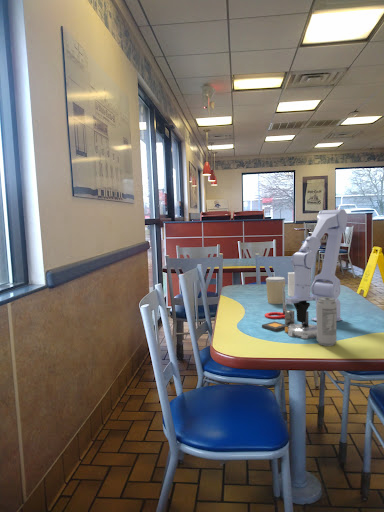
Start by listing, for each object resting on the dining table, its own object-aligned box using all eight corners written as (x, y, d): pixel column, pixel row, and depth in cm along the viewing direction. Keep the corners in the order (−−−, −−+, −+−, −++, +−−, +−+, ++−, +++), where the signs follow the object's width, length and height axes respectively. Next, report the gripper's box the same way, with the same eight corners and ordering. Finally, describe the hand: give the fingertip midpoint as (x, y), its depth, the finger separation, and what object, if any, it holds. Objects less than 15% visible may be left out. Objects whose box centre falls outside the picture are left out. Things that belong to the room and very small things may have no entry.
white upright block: (304, 293, 199) (304, 271, 198) (307, 297, 190) (307, 274, 189) (287, 293, 200) (287, 271, 199) (289, 297, 191) (289, 274, 190)
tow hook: (264, 320, 152) (287, 319, 150) (262, 289, 151) (285, 288, 149) (265, 314, 161) (287, 314, 159) (263, 285, 160) (285, 284, 157)
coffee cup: (284, 300, 185) (283, 276, 184) (287, 304, 176) (286, 279, 175) (265, 300, 186) (264, 276, 185) (267, 304, 177) (266, 279, 176)
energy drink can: (331, 340, 124) (331, 296, 122) (339, 346, 118) (339, 300, 116) (314, 340, 124) (313, 296, 122) (320, 347, 118) (320, 300, 116)
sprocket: (324, 328, 137) (324, 311, 136) (326, 340, 124) (326, 321, 123) (286, 326, 141) (286, 309, 141) (283, 337, 128) (283, 319, 128)
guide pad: (274, 323, 145) (274, 321, 144) (288, 327, 139) (288, 325, 139) (261, 327, 141) (261, 324, 141) (275, 331, 135) (275, 328, 135)
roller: (289, 322, 147) (289, 309, 146) (296, 323, 144) (296, 311, 143) (283, 323, 145) (282, 311, 144) (290, 325, 142) (290, 313, 141)
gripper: (297, 287, 128) (296, 326, 128) (324, 284, 136) (323, 321, 136) (282, 285, 133) (281, 322, 134) (308, 282, 142) (307, 317, 142)
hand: (301, 321), depth 136 cm, fingers closed, pressing on sprocket
